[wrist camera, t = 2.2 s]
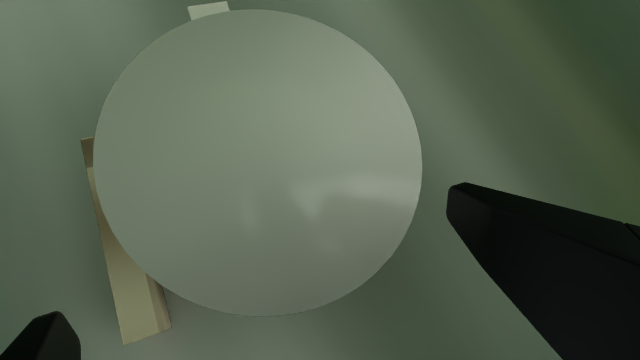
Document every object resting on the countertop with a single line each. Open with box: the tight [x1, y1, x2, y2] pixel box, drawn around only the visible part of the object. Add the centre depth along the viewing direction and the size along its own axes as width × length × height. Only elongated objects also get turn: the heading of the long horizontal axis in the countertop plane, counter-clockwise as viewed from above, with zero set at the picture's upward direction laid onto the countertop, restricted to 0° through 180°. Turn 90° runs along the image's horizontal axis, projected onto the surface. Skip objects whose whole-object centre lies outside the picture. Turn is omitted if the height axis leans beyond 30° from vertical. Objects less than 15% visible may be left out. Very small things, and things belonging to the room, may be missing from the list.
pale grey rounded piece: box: [93, 1, 422, 317], centre depth 12 cm, size 8×5×12 cm
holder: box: [80, 136, 397, 346], centre depth 17 cm, size 8×11×2 cm
